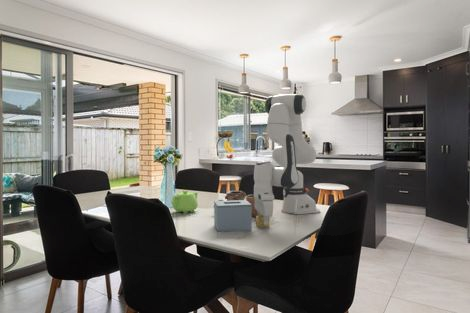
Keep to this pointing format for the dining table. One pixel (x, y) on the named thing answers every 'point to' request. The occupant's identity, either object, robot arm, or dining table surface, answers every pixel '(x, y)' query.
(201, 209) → the dining table surface
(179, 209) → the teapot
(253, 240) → the dining table surface
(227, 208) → the moneybox
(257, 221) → the block
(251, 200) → the planter
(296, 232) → the dining table surface
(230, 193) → the decorative box
